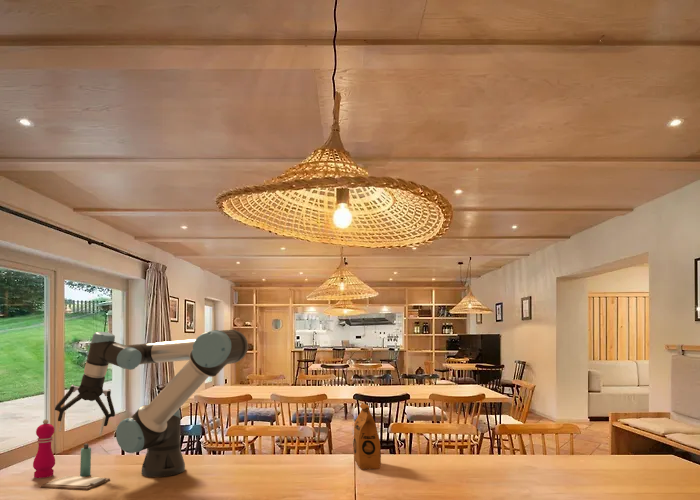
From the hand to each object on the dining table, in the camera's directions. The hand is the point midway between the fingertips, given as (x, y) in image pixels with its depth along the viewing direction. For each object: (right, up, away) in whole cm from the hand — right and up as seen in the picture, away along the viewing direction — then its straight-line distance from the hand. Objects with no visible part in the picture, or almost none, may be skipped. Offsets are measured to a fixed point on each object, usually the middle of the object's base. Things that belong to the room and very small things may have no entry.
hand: (80, 432), depth 214 cm
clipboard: (+3, -14, -11) cm, 18 cm away
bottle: (+2, -16, 0) cm, 16 cm away
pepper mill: (-13, -16, 0) cm, 21 cm away
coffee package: (+104, -14, +5) cm, 105 cm away
